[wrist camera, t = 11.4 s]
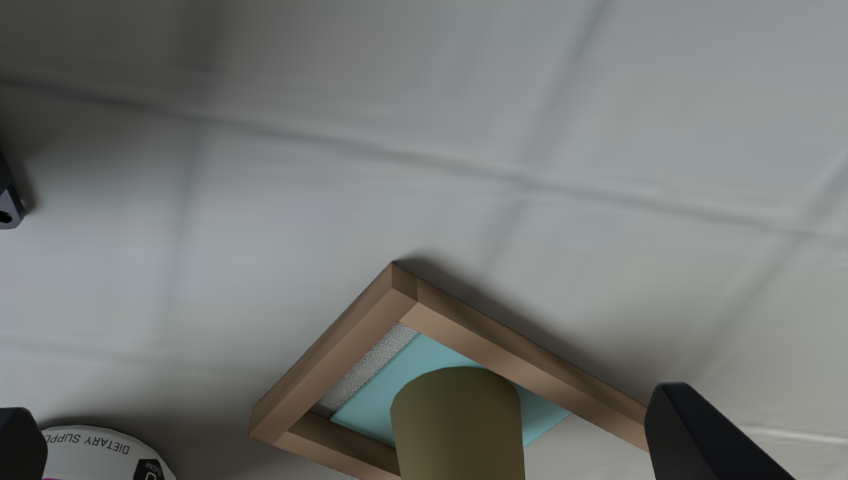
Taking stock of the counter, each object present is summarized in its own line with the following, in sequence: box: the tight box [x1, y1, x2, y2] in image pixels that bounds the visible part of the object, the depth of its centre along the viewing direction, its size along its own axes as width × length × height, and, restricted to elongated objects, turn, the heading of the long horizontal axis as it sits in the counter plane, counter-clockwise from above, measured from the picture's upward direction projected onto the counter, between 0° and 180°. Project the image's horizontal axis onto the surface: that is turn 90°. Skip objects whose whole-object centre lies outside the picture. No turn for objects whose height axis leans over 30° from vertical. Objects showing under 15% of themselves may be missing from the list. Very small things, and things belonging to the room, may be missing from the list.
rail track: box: [248, 262, 650, 480], centre depth 30 cm, size 20×10×2 cm, turn 52°
